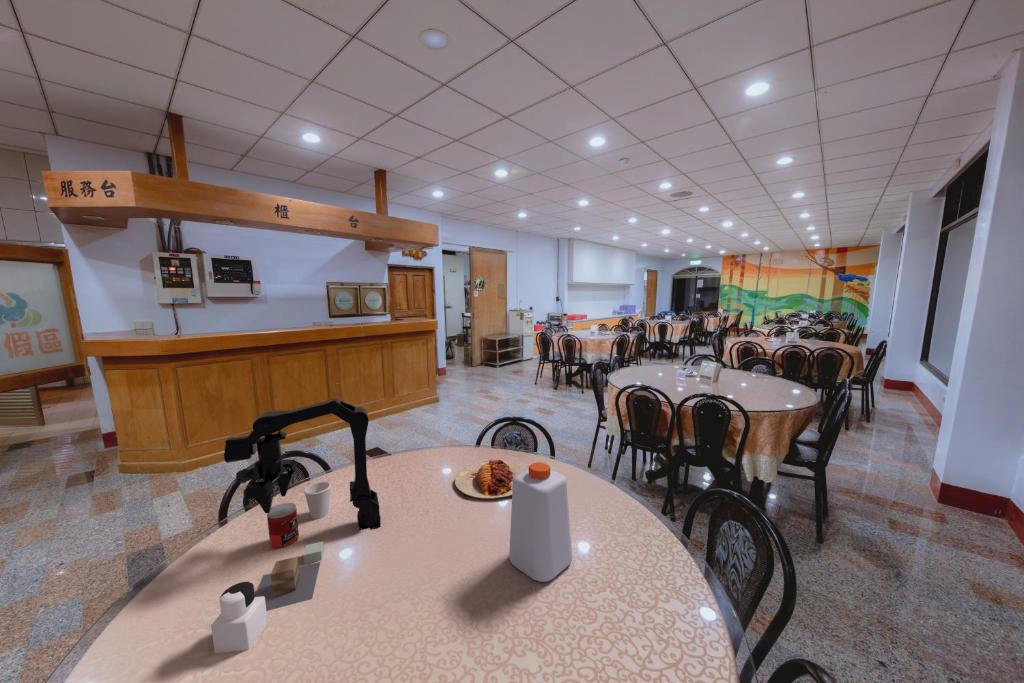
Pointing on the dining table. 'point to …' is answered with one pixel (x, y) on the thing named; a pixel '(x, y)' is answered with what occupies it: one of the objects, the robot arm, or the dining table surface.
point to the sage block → (313, 552)
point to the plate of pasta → (489, 478)
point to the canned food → (283, 525)
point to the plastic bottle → (540, 523)
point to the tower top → (284, 570)
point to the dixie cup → (318, 499)
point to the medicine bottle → (238, 619)
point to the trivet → (301, 594)
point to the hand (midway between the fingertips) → (275, 504)
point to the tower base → (286, 586)
